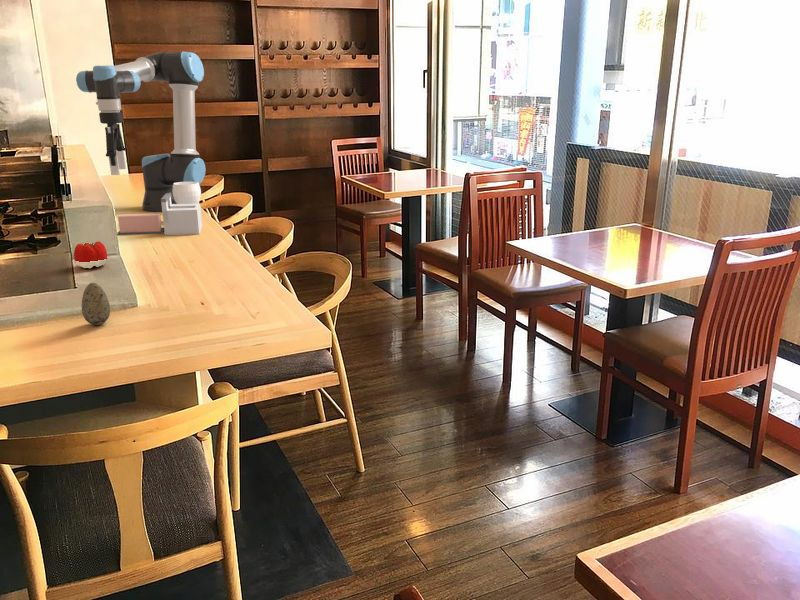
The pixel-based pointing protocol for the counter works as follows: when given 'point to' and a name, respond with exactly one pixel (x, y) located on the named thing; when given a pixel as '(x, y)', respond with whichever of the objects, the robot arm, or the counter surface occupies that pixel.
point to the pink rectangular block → (139, 223)
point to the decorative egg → (95, 305)
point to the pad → (142, 232)
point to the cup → (186, 192)
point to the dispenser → (180, 217)
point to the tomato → (90, 252)
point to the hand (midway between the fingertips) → (118, 171)
